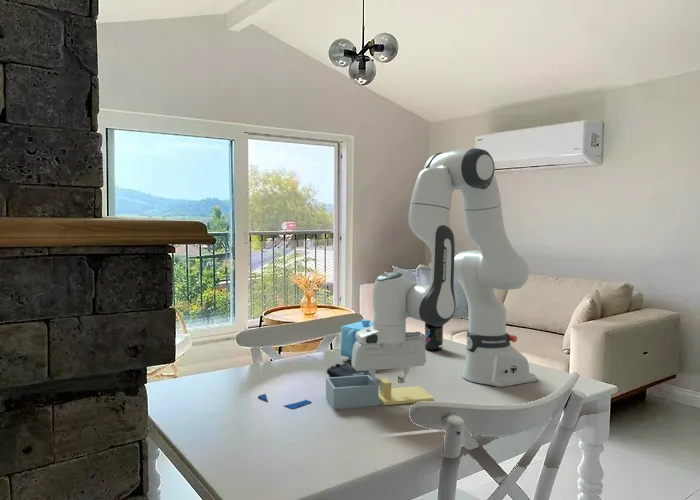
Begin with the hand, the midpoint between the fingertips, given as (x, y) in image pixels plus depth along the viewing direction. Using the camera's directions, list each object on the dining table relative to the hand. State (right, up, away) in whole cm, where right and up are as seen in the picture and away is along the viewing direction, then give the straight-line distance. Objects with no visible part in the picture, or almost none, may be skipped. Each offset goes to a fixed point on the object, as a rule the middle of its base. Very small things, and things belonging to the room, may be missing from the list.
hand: (388, 384), depth 144 cm
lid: (+4, -4, +1) cm, 6 cm away
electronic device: (-10, -4, +18) cm, 21 cm away
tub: (-10, -5, -2) cm, 11 cm away
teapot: (-4, -2, +42) cm, 42 cm away
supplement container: (+21, -1, +54) cm, 58 cm away
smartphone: (-28, -5, -1) cm, 28 cm away
